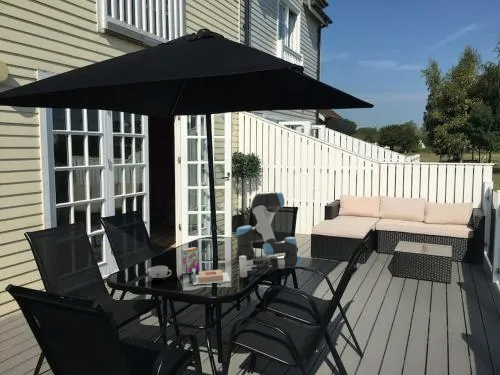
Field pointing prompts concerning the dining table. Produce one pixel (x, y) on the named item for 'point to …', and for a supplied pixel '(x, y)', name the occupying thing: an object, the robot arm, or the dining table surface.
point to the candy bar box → (190, 259)
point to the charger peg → (243, 266)
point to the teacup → (159, 272)
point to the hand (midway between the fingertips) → (244, 265)
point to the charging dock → (225, 276)
